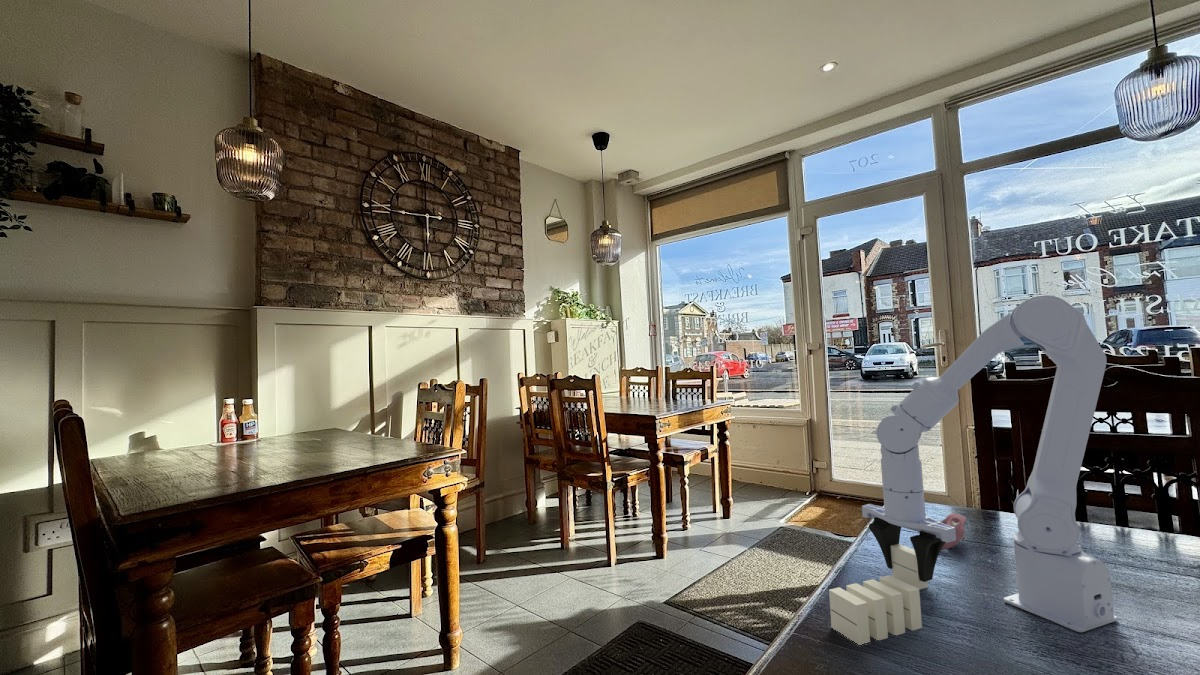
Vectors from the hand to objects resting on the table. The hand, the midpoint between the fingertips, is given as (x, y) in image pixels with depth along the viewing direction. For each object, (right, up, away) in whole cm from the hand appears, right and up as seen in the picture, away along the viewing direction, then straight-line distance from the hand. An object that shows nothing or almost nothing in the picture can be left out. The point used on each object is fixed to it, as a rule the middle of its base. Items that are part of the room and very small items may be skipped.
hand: (909, 573), depth 82 cm
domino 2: (-14, -2, -13) cm, 19 cm away
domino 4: (0, -1, 0) cm, 1 cm away
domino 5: (-8, -2, -11) cm, 14 cm away
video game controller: (+16, -1, +14) cm, 21 cm away
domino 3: (-11, -2, -12) cm, 16 cm away
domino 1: (-16, -2, -14) cm, 22 cm away
